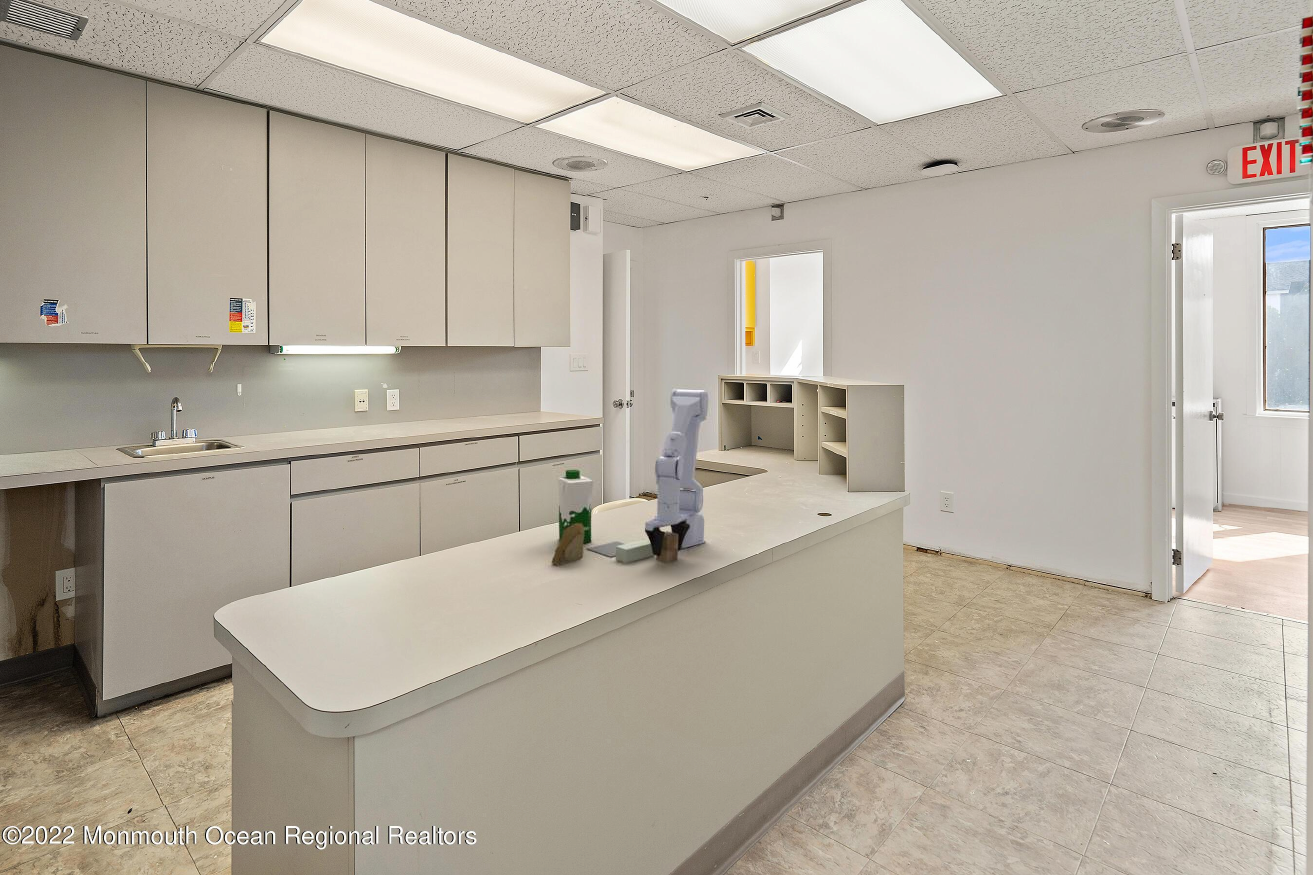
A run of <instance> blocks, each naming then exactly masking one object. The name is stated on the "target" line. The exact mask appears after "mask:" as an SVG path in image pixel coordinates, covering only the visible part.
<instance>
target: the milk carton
mask: <svg viewBox="0 0 1313 875" xmlns="http://www.w3.org/2000/svg"><path fill="white" fill-rule="evenodd" d="M580 472H581V471H580V470H578V469H566V470H565V476H564V477H558V478H557V479H558V481H557V483H558V496H559V497H558V538H559V540H560V541H561V538H562V536H563V531H564V530H565V529H567V528H568V527H570V526H571V525H573V524H576V523H578V524H579V523H582V524H583V526H584V540H583V544H585V543H586V544H588V543H592V499H593V498H592V497H593V496H592V495H593V494H592V493H593V486H594V480H592V479H590V477H589V478H588V477H586V476H582V475H581V473H580Z"/></svg>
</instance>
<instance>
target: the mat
mask: <svg viewBox="0 0 1313 875" xmlns="http://www.w3.org/2000/svg"><path fill="white" fill-rule="evenodd" d="M624 544H625V543H623V542H620V541H617V540H616V541H612V542H608V543H604V544H600V545H594V546H591V547H587V548H586V550H588V551H590V552H594V553H596V554H599V555H602V556H605V557H608V558H614V557H615V558H616V546H619V545H624Z"/></svg>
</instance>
